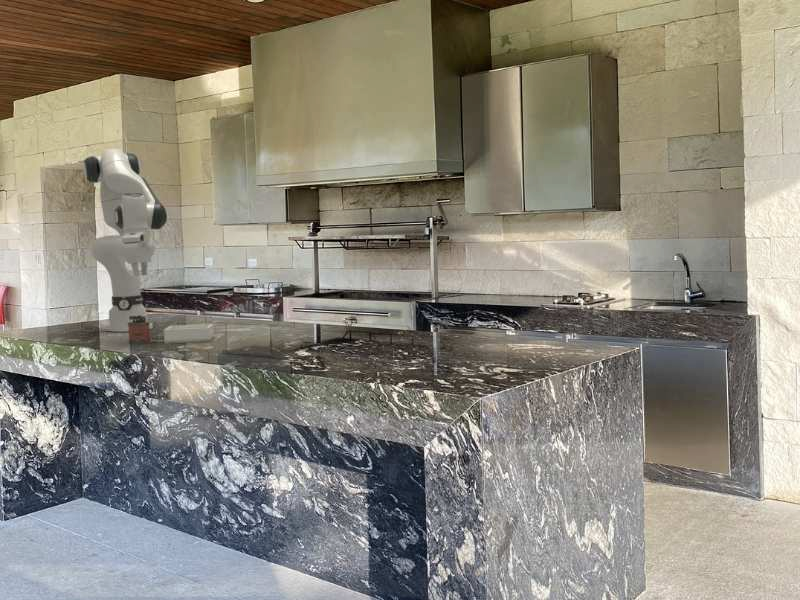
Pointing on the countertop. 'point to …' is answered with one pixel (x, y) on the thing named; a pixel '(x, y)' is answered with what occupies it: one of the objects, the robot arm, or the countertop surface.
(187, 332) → the tray
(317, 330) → the countertop surface
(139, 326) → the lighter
